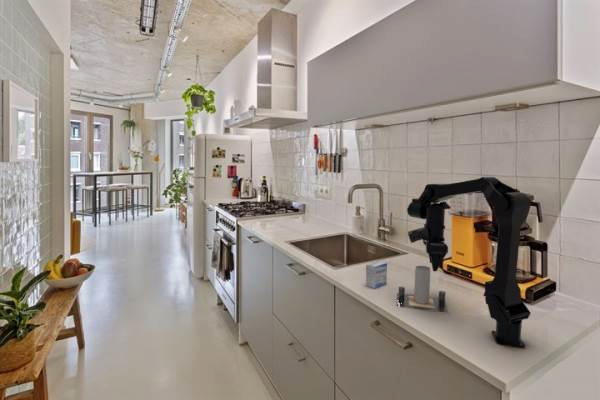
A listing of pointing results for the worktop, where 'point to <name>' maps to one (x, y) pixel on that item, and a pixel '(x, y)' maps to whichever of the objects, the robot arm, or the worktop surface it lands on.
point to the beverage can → (422, 284)
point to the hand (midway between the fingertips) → (433, 267)
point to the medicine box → (376, 274)
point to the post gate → (432, 305)
